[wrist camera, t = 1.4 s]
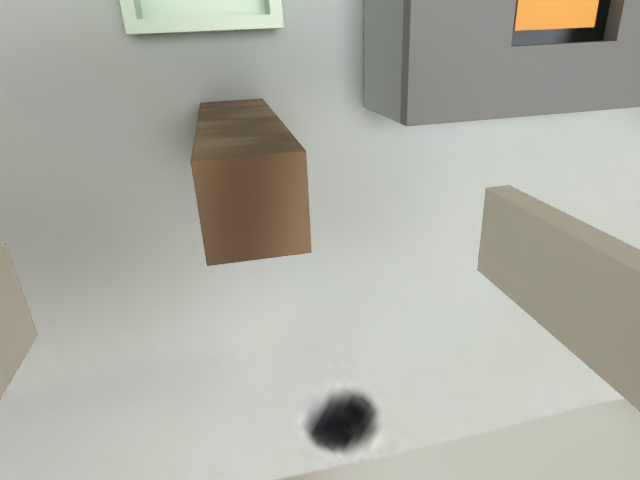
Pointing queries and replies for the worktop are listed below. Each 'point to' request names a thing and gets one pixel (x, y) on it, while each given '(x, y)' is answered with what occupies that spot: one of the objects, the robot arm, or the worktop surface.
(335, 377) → the worktop surface
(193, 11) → the green square tray
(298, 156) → the brown wooden block
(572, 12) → the button
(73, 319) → the worktop surface
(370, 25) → the grey box with hole
